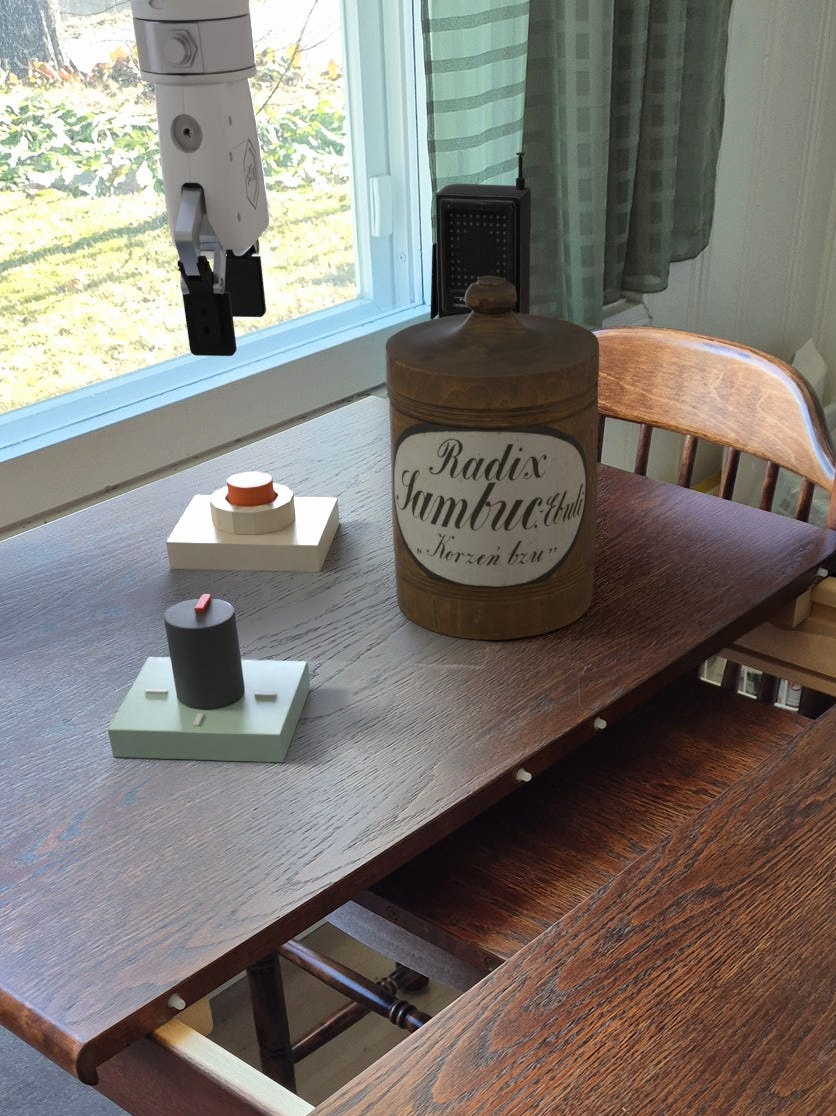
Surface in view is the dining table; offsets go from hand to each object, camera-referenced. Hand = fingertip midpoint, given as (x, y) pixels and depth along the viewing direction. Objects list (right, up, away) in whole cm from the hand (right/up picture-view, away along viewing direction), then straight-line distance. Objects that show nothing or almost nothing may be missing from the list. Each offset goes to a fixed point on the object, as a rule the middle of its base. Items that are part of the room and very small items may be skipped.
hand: (230, 334), depth 104 cm
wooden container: (+19, -18, +4) cm, 27 cm away
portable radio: (+18, -2, +23) cm, 29 cm away
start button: (0, -8, +10) cm, 13 cm away
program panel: (+1, -30, -10) cm, 32 cm away
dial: (+1, -29, -11) cm, 31 cm away
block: (0, -11, +12) cm, 17 cm away
